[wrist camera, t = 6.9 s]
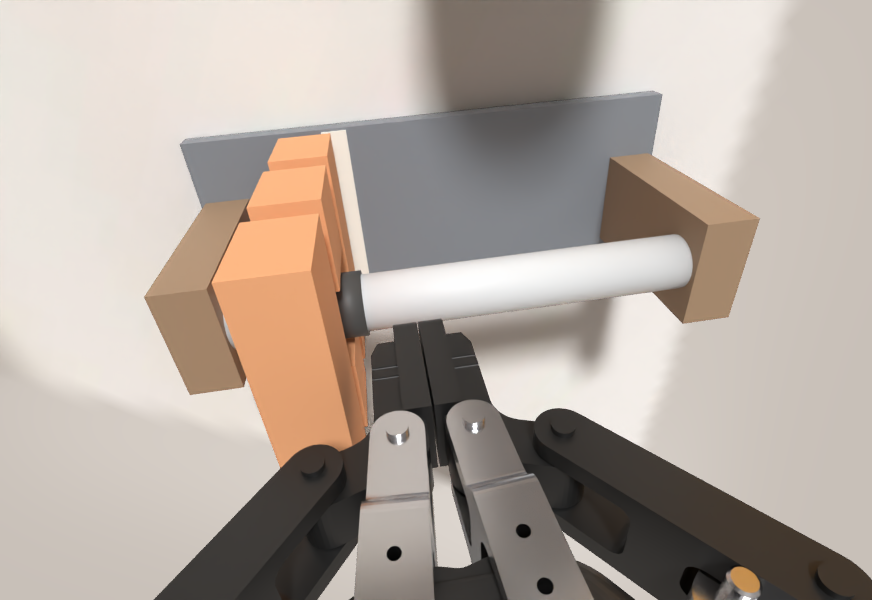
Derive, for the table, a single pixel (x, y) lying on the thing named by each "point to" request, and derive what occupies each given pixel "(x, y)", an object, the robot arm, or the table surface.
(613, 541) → the robot arm
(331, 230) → the collar
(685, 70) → the table surface
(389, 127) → the pipe stand
